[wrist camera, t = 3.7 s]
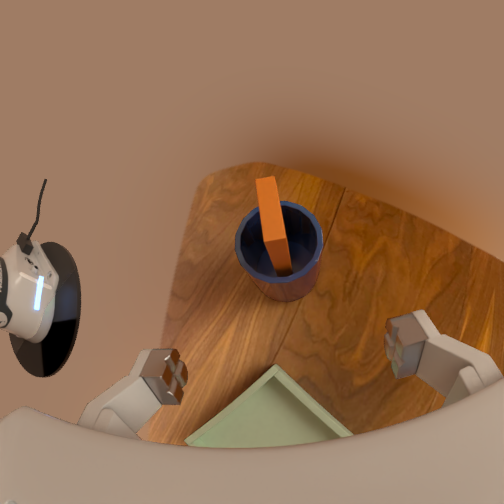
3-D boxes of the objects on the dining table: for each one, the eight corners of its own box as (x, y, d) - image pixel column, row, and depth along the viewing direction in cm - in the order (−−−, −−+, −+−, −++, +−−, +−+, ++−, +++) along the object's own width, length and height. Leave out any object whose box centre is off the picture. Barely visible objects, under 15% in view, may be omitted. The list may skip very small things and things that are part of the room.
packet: (282, 290, 30) (263, 242, 17) (276, 249, 31) (254, 179, 19) (295, 287, 30) (286, 238, 17) (288, 247, 31) (274, 175, 18)
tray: (192, 434, 26) (183, 440, 24) (276, 363, 28) (273, 364, 25) (298, 525, 19) (297, 535, 17) (386, 461, 21) (392, 469, 18)
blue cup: (241, 271, 32) (217, 242, 24) (285, 227, 33) (277, 186, 25) (286, 315, 29) (278, 302, 21) (331, 267, 30) (340, 236, 22)
